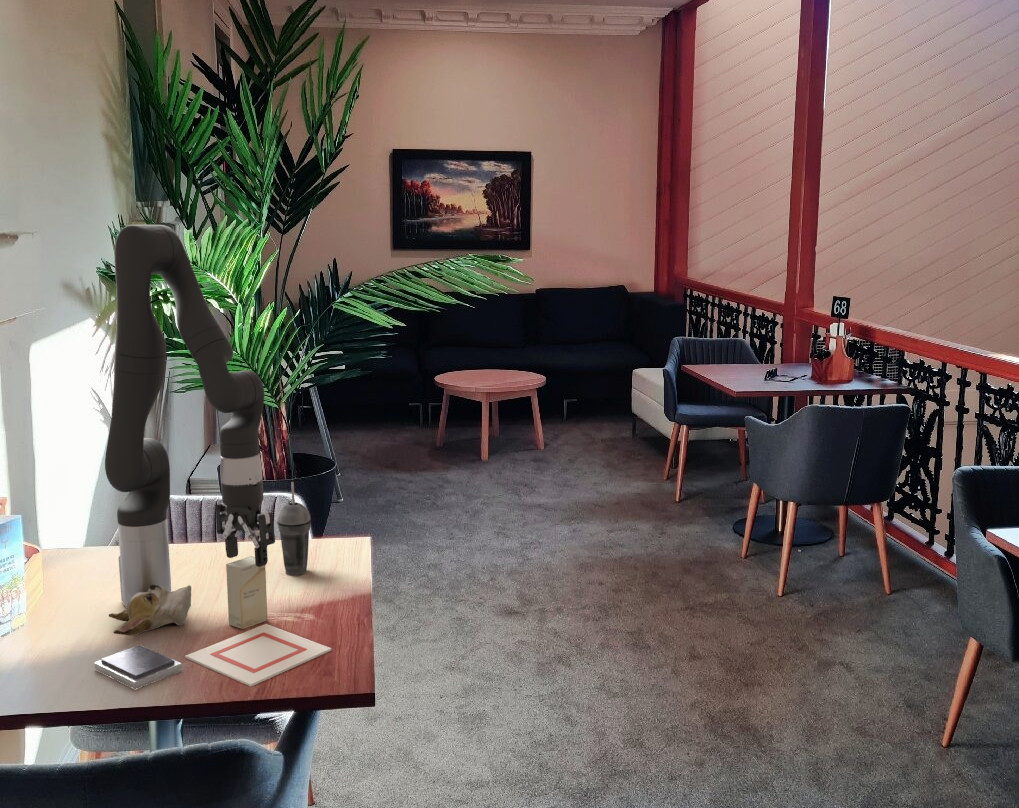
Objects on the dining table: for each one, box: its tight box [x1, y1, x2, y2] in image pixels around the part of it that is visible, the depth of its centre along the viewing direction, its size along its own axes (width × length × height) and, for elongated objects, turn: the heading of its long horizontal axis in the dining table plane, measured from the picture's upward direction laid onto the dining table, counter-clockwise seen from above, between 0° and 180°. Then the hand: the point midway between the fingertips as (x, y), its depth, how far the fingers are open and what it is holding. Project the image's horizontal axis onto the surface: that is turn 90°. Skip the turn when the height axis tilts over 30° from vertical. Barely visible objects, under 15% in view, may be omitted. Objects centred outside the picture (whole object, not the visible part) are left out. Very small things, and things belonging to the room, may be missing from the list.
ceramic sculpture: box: [108, 584, 192, 636], centre depth 194 cm, size 11×9×15 cm
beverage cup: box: [276, 481, 312, 577], centre depth 222 cm, size 7×7×20 cm
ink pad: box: [93, 644, 183, 690], centre depth 176 cm, size 12×9×2 cm
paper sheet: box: [184, 623, 332, 687], centre depth 183 cm, size 18×18×1 cm
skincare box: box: [225, 555, 268, 630], centre depth 196 cm, size 6×4×12 cm
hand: (246, 561), depth 195 cm, fingers open, 8 cm apart
